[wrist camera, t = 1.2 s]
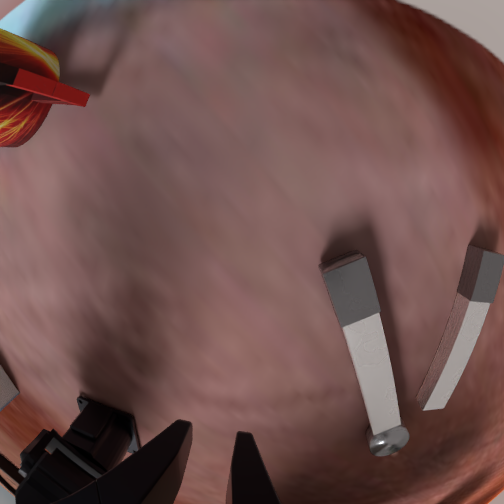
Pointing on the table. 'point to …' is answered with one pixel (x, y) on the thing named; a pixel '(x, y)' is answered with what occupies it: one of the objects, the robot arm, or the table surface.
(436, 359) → the base
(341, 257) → the tong arm
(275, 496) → the robot arm
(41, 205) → the table surface
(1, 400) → the white low block
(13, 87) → the mug
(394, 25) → the table surface
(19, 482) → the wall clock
